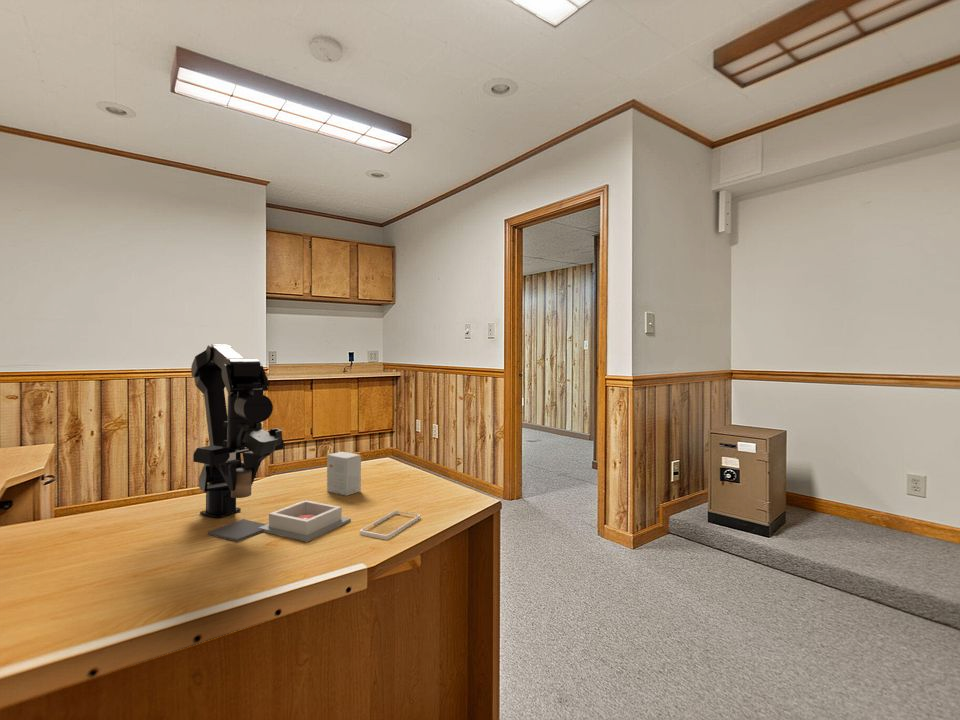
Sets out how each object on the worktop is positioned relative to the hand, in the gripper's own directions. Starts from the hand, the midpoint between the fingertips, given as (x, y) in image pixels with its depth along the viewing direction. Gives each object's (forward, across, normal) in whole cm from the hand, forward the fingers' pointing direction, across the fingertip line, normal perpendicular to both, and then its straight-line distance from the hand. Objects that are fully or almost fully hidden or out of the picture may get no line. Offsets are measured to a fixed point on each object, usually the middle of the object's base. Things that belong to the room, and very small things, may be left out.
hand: (241, 487), depth 106 cm
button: (+9, +9, -10) cm, 16 cm away
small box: (+10, +34, 0) cm, 35 cm away
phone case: (+10, +18, -27) cm, 34 cm away
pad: (+9, 0, 0) cm, 9 cm away
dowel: (+2, 0, 0) cm, 2 cm away
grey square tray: (+9, +9, -10) cm, 16 cm away
